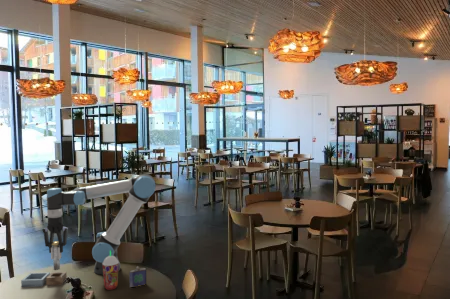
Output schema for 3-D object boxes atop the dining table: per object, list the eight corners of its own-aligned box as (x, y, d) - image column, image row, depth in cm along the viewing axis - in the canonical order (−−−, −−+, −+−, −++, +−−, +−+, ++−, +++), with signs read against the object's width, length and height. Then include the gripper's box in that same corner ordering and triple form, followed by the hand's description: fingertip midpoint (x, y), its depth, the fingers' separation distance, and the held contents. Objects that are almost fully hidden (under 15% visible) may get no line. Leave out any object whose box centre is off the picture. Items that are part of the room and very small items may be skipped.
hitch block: (66, 278, 217) (66, 271, 217) (61, 284, 210) (61, 277, 209) (52, 279, 217) (51, 272, 217) (46, 284, 209) (46, 277, 209)
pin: (62, 267, 215) (61, 241, 215) (59, 270, 211) (58, 243, 210) (53, 267, 215) (53, 241, 214) (50, 270, 210) (49, 243, 210)
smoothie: (114, 291, 200) (113, 253, 199) (99, 290, 201) (99, 252, 200) (121, 285, 208) (121, 248, 207) (107, 284, 210) (107, 247, 209)
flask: (130, 288, 203) (130, 268, 203) (128, 287, 206) (128, 267, 205) (147, 285, 208) (146, 265, 207) (145, 283, 210) (145, 264, 210)
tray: (50, 278, 218) (50, 272, 218) (42, 286, 207) (42, 279, 207) (30, 279, 217) (30, 273, 217) (21, 286, 207) (21, 280, 206)
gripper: (37, 218, 207) (38, 261, 208) (67, 217, 208) (69, 260, 209) (42, 215, 215) (44, 256, 216) (72, 214, 216) (73, 255, 217)
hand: (56, 258), depth 213 cm, fingers closed on pin, 3 cm apart
